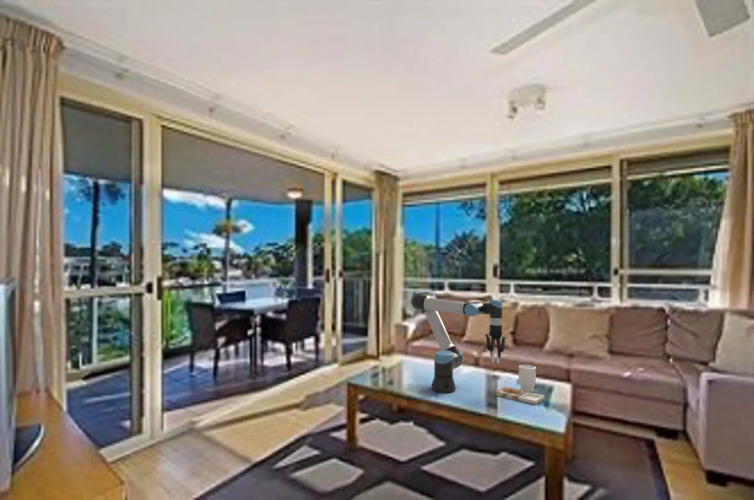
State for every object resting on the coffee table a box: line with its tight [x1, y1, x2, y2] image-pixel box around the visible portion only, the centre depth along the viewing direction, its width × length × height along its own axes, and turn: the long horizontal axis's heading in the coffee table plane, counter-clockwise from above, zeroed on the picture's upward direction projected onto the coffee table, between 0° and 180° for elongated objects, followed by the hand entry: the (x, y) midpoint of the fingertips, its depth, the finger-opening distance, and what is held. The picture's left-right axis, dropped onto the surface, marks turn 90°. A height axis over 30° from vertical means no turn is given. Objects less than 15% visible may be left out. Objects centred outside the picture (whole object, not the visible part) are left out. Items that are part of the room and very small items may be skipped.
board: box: [495, 387, 527, 401], centre depth 268 cm, size 14×12×2 cm
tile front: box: [511, 387, 522, 394], centre depth 266 cm, size 4×4×2 cm
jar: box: [518, 364, 537, 393], centre depth 280 cm, size 11×10×15 cm
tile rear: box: [502, 386, 514, 392], centre depth 269 cm, size 4×4×2 cm
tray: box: [517, 392, 546, 406], centre depth 260 cm, size 10×14×2 cm
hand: (495, 362), depth 275 cm, fingers open, 3 cm apart
